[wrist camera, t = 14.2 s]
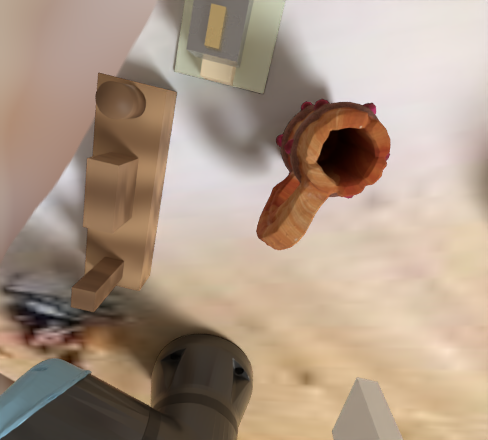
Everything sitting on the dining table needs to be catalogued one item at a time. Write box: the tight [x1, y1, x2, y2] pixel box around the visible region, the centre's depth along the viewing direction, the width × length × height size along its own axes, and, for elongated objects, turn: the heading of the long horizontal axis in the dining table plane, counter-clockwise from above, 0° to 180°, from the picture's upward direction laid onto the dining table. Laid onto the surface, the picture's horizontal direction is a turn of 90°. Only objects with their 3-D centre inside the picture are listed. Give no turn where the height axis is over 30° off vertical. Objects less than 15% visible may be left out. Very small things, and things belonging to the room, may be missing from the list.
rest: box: [174, 0, 285, 94], centre depth 31 cm, size 10×10×4 cm
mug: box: [256, 99, 390, 250], centre depth 30 cm, size 15×8×15 cm, turn 144°
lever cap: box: [186, 0, 254, 68], centre depth 27 cm, size 7×4×5 cm, turn 167°
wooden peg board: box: [71, 73, 177, 312], centre depth 34 cm, size 24×7×11 cm, turn 167°
